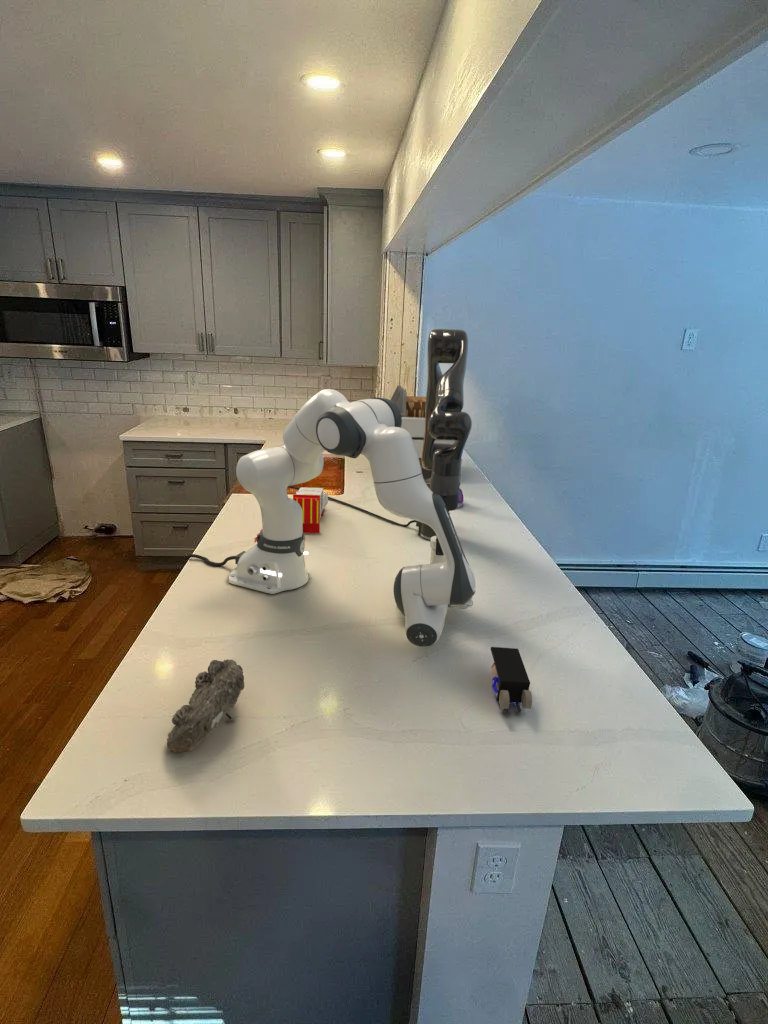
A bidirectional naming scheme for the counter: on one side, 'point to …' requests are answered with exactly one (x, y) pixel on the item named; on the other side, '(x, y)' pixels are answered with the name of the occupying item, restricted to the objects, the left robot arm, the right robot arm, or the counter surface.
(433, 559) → the beige canister
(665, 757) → the counter surface
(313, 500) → the toy
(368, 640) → the counter surface
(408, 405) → the transformer
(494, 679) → the figurine character
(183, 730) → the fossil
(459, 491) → the figurine
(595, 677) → the counter surface
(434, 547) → the lid
